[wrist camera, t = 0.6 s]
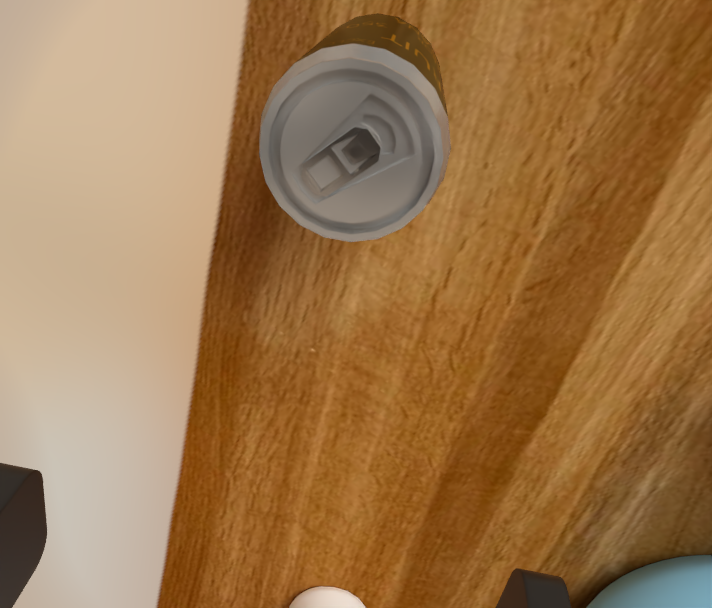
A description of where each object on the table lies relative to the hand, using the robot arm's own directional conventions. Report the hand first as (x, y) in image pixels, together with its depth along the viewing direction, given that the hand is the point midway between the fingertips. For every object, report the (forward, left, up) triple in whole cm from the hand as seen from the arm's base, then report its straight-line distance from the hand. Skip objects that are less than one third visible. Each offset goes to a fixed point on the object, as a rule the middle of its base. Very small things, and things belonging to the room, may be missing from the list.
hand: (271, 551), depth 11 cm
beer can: (-3, -2, -22) cm, 22 cm away
